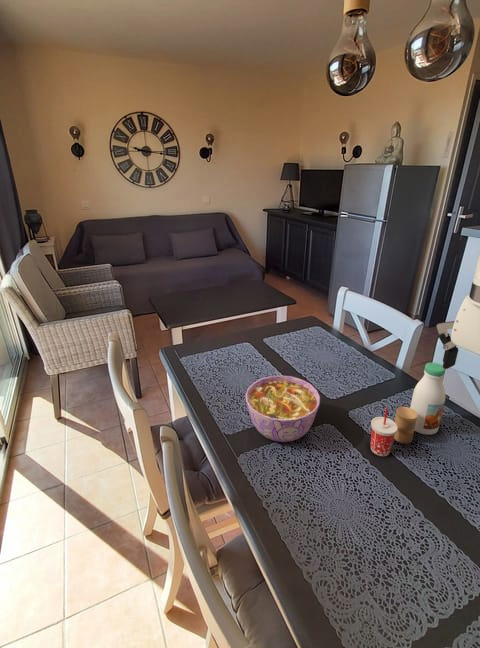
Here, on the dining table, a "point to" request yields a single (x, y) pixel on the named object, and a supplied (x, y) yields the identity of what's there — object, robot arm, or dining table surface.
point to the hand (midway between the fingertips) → (472, 377)
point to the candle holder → (405, 424)
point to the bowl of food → (282, 407)
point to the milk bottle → (429, 399)
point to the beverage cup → (382, 435)
